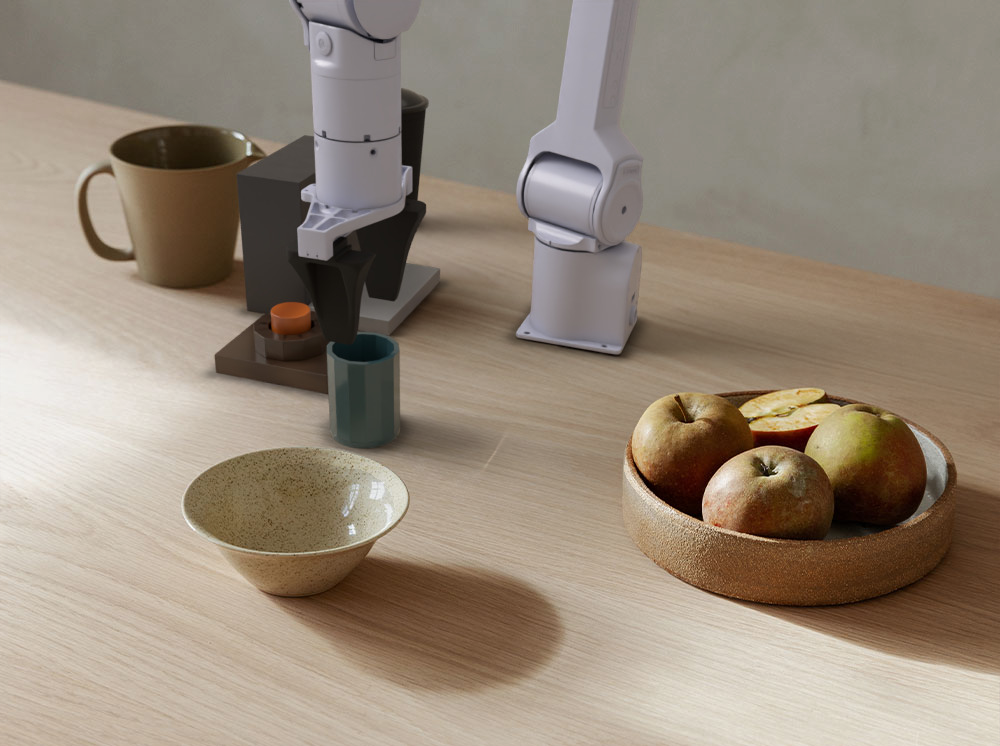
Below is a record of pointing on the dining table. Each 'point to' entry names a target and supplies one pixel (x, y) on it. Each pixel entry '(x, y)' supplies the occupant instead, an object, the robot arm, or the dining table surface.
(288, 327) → the brew button
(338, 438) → the creamer cup
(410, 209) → the robot arm
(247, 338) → the button block
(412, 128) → the drinking cup
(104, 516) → the dining table surface
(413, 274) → the coffee maker
